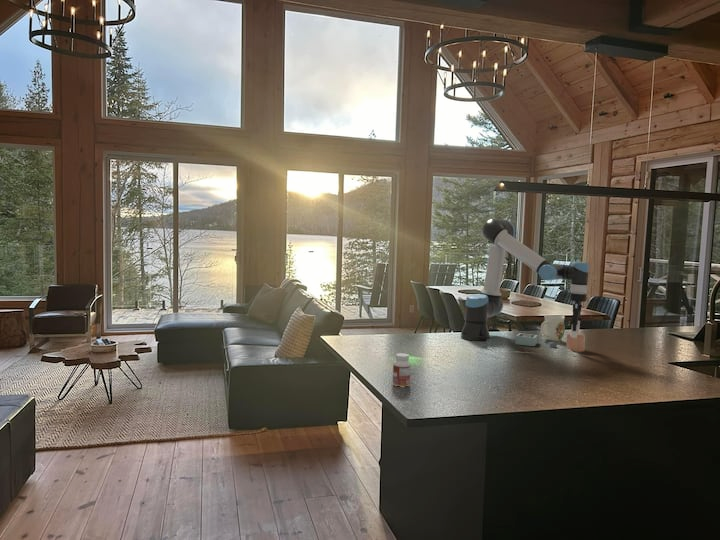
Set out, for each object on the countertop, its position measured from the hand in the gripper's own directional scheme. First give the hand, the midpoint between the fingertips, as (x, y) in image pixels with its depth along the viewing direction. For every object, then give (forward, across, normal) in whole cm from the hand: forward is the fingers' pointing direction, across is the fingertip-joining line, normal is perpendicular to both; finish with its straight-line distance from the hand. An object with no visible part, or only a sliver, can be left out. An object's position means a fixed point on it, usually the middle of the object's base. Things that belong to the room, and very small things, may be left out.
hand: (574, 335), depth 262 cm
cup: (+7, 0, -1) cm, 7 cm away
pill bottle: (+8, -108, +48) cm, 119 cm away
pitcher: (+8, +17, +12) cm, 22 cm away
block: (+7, -3, +22) cm, 24 cm away
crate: (+8, -3, +22) cm, 24 cm away
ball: (+7, -4, +9) cm, 13 cm away
